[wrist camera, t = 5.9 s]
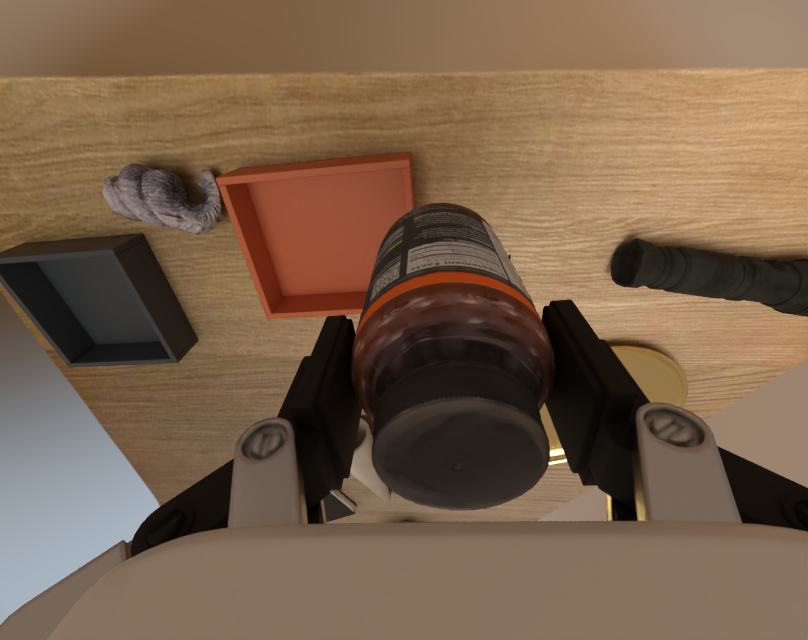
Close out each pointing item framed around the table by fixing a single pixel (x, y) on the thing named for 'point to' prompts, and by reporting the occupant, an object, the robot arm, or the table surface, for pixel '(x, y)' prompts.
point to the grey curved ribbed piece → (163, 199)
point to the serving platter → (651, 375)
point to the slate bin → (99, 300)
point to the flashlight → (713, 275)
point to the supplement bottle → (452, 364)
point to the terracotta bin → (316, 228)
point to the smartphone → (337, 506)
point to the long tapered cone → (367, 463)
